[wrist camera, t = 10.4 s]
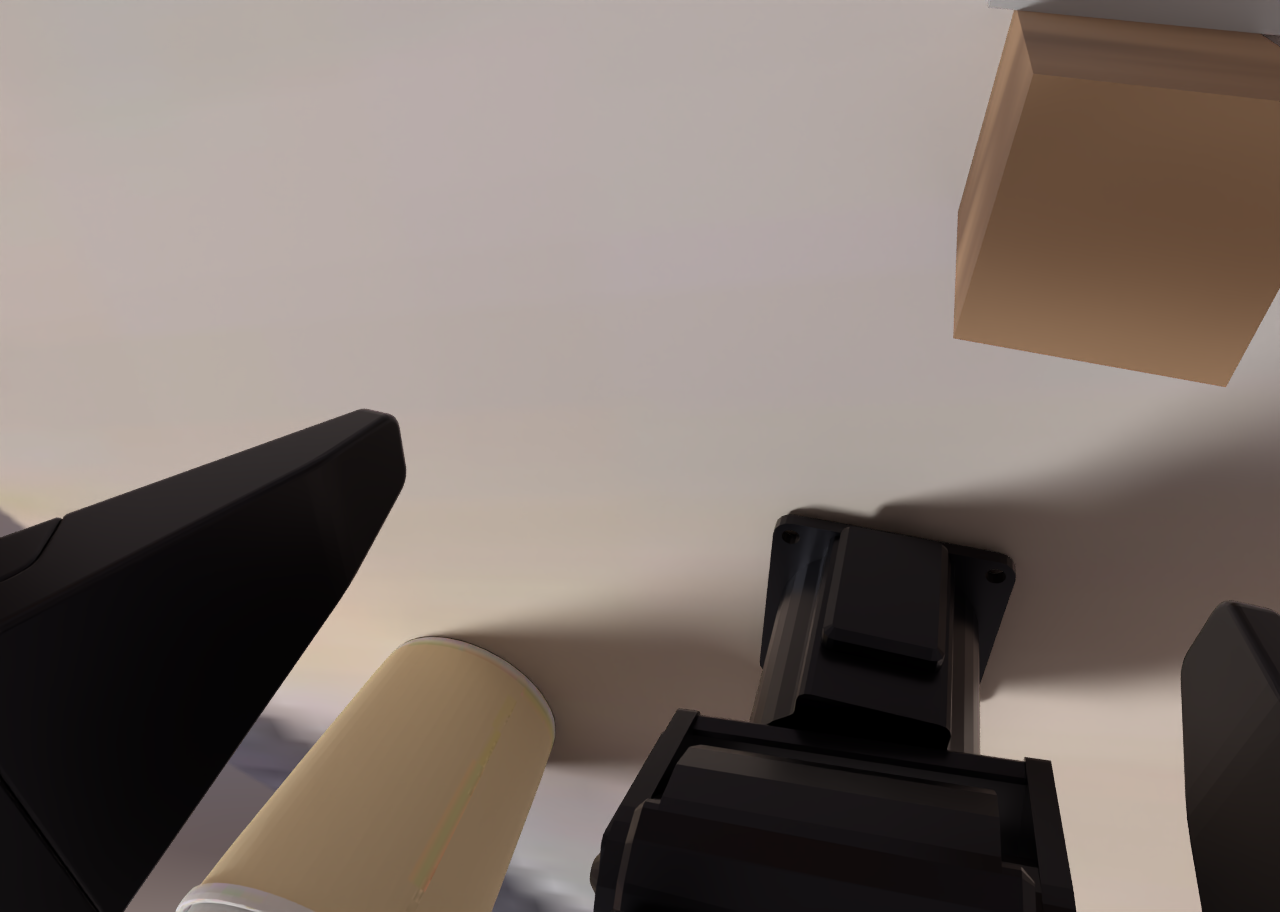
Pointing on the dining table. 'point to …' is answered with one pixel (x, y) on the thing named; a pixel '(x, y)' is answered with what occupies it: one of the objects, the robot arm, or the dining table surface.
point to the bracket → (1126, 186)
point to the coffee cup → (399, 795)
